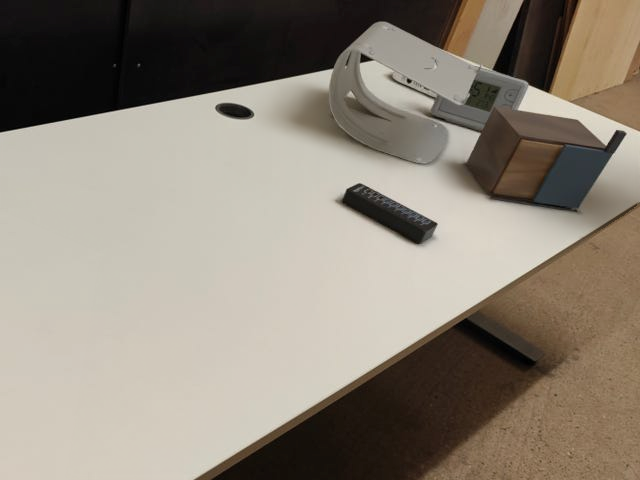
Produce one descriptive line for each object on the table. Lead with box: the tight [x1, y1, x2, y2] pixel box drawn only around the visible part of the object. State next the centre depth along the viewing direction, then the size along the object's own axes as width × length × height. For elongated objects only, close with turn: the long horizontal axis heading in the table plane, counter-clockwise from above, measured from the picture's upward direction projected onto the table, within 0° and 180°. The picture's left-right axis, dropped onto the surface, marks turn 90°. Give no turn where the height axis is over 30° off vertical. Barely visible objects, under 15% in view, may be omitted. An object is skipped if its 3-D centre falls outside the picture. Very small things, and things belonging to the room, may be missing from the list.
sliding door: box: [531, 129, 628, 209], centre depth 113 cm, size 1×8×14 cm, turn 89°
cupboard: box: [466, 106, 607, 213], centre depth 119 cm, size 14×16×11 cm
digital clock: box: [430, 65, 529, 133], centre depth 139 cm, size 16×9×11 cm, turn 54°
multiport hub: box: [341, 182, 439, 245], centre depth 105 cm, size 4×14×2 cm, turn 45°
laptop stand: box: [328, 21, 483, 165], centre depth 128 cm, size 26×24×16 cm
